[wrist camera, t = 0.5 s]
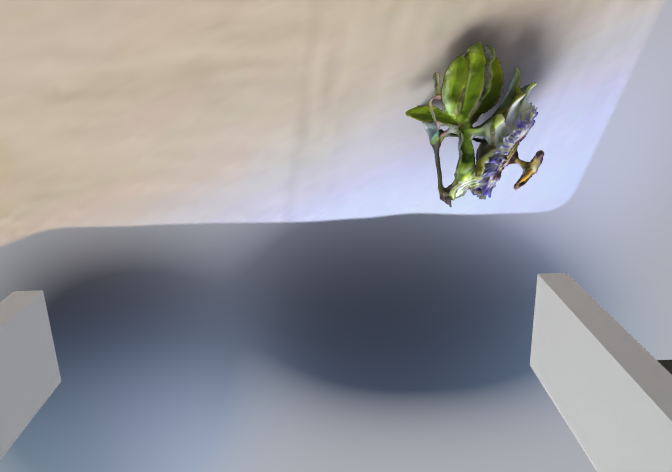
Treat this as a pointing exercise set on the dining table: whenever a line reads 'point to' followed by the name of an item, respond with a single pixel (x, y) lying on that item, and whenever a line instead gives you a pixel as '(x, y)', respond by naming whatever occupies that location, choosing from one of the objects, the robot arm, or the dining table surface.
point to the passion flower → (498, 131)
